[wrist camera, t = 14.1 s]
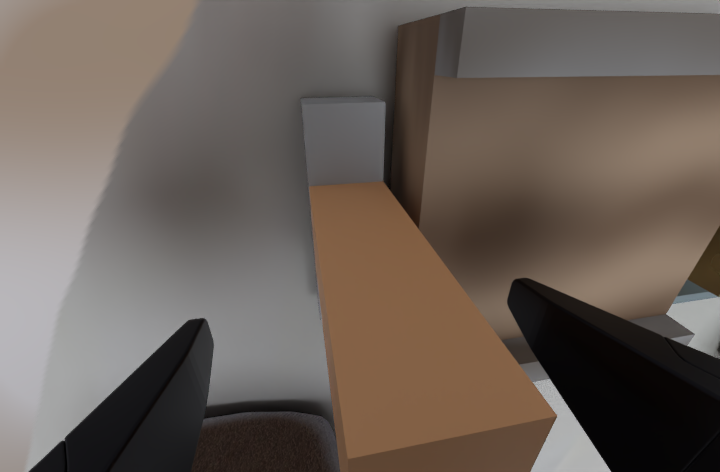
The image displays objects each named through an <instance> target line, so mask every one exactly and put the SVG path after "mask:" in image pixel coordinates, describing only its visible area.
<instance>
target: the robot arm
mask: <svg viewBox="0 0 720 472" xmlns="http://www.w3.org/2000/svg"><path fill="white" fill-rule="evenodd" d="M507 305H508V308H509V310H510V311H511V313H512V315H513V317H514V319H515V321H516V323H517V325H518V327H519V328H520V330H521V332H522V334H523V336H524V338H525V340H526V342H527V344H528V345H529V347H530V349H531V351H532V352H533V354H534V355H535V357H536V358H537V360H538V361H539V363H540V364H541V366H542V368H543V369H544V371H545V372H546V374H547V375H548V377H549V378H550V380H551V381H552V383H553V384H554V386H555V387H556V389H557V390H558V392H559V393H560V395H561V396H562V398H563V399H564V401H565V402H566V404H567V405H568V407H569V408H570V410H571V411H572V413H573V414H574V416H575V417H576V419H577V421H578V422H579V424H580V425H581V427H582V428H583V430H584V431H585V433H586V434H587V436H588V437H589V439H590V440H591V442H592V443H593V445H594V446H595V448H596V449H597V451H598V452H599V454H600V455H601V457H602V458H603V460H604V461H605V463H606V464H607V466H608V467H609V469H610V470H611V472H720V359H718V358H715V357H713V356H710V355H708V354H705V353H703V352H701V351H698V350H696V349H693V348H691V347H689V346H686V345H684V344H681V343H679V342H677V341H674V340H672V339H670V338H667V337H663V336H662V335H660V334H658V333H656V332H653V331H651V330H649V329H646V328H644V327H642V326H639V325H637V324H635V323H632V322H630V321H628V320H625V319H623V318H621V317H618V316H616V315H614V314H611V313H609V312H607V311H604V310H602V309H600V308H597V307H595V306H593V305H590V304H588V303H586V302H583V301H581V300H579V299H576V298H574V297H572V296H569V295H567V294H565V293H562V292H560V291H558V290H555V289H553V288H551V287H548V286H546V285H544V284H541V283H539V282H537V281H534V280H532V279H530V278H518V279H514V280H513V281H512V284H511V287H510V291H509V294H508V298H507ZM213 349H214V343H213V338H212V335H211V332H210V328H209V325H208V322H207V320H206V319H204V318H199V319H191V320H188V321H187V322H186V323H185V324H184V325H183V326H182V327H181V328H179V329H178V330H177V331H176V332H175V333H174V334H173V335H172V336H171V337H170V338H169V339H168V340H167V341H166V342H165V343H164V344H163V345H162V346H161V347H160V348H158V349H157V350H156V351H155V352H154V353H153V354H152V355H151V356H150V357H149V358H148V359H147V360H146V361H145V362H144V363H143V364H142V365H141V366H140V367H139V368H137V369H136V370H135V371H134V372H133V373H132V374H131V375H130V376H129V377H128V378H127V379H126V380H125V381H124V382H123V383H122V384H121V385H120V386H119V387H118V388H116V389H115V390H114V391H113V392H112V393H111V394H110V395H109V396H108V397H107V398H106V399H105V400H104V401H103V402H102V403H101V404H100V405H99V406H98V407H97V408H95V409H94V410H93V411H92V412H91V413H90V414H89V415H88V416H87V417H86V418H85V419H84V420H83V421H82V422H81V423H80V424H79V425H78V426H77V427H76V428H74V429H73V430H72V431H71V432H70V433H69V434H68V435H67V436H66V437H65V441H61V442H60V443H59V444H57V445H56V446H55V447H54V448H53V449H52V450H51V451H50V452H49V453H48V454H47V455H46V456H45V457H44V458H43V459H42V460H41V461H40V462H38V463H37V464H36V465H35V466H34V467H33V468H32V469H31V470H30V471H29V472H191V469H192V465H193V461H194V457H195V453H196V448H197V444H198V440H199V436H200V432H201V427H202V423H203V419H204V415H205V410H206V405H207V399H208V392H209V383H210V375H211V366H212V358H213Z"/></svg>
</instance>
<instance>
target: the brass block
mask: <svg viewBox="0 0 720 472" xmlns="http://www.w3.org/2000/svg"><path fill="white" fill-rule="evenodd" d="M687 280H689V281H691V282H693V283H695V284H696V285H698V286H700V287H702V288H703V289H705V290H707V291H709V292H711V293H712V294H714V295H716V296H718V297H720V226H719V228H718V229H717V231H716V233H715V234H714V236H713V238H712V239H711V241H710V243H709V244H708V246H707V247H706V249H705V251H704V252H703V254H702V256H701V257H700V259H699V261H698V262H697V264H696V266H695V267H694V269H693V270H692V272H691V274H690V275H689V277H688V279H687Z"/></svg>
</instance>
